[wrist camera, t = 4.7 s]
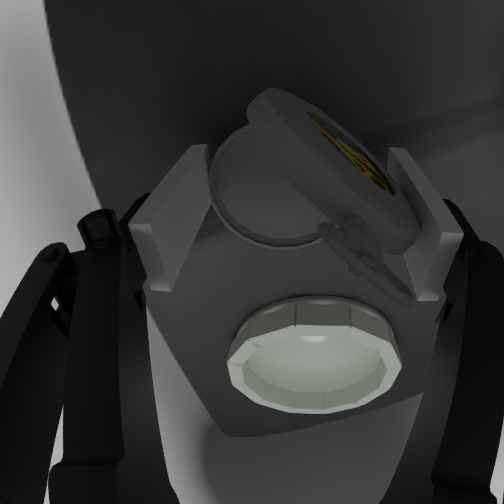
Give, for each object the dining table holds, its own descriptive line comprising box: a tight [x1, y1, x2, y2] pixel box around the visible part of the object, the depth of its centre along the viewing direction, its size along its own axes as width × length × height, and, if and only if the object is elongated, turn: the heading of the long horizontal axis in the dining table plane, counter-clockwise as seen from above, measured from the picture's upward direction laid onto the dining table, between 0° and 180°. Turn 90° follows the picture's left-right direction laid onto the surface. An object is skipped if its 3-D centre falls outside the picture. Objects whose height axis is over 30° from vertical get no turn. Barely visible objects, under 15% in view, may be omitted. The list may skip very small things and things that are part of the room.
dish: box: [227, 295, 402, 414], centre depth 27 cm, size 15×15×3 cm
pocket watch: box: [208, 87, 421, 306], centre depth 10 cm, size 8×8×10 cm
